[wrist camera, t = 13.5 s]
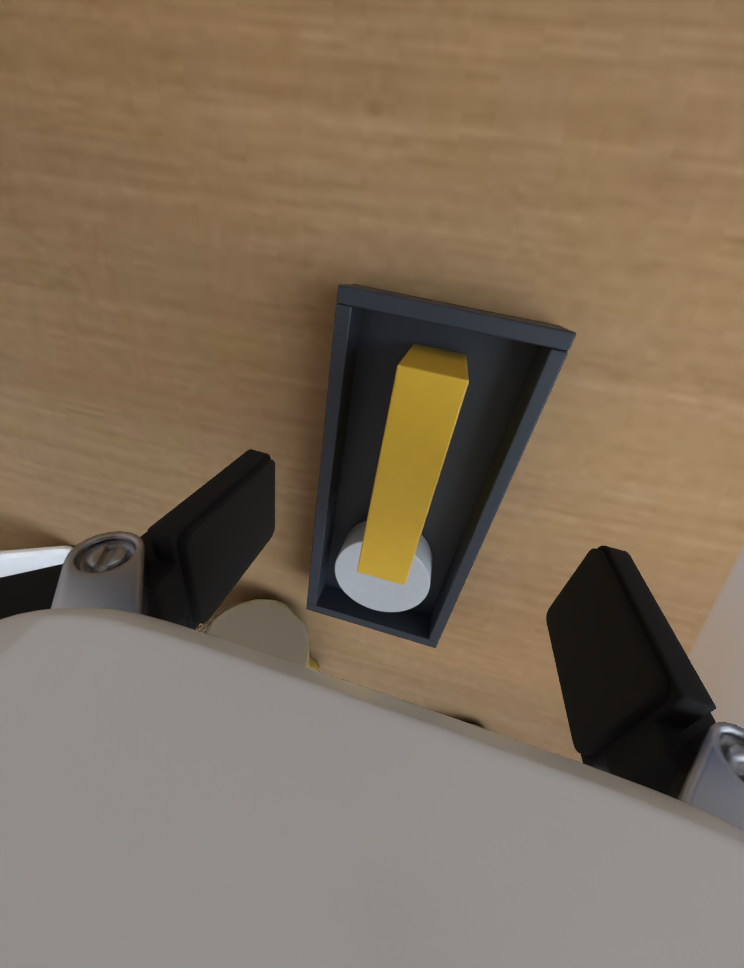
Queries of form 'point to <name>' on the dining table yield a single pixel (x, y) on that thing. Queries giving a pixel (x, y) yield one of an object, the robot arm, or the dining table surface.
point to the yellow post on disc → (405, 484)
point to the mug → (266, 630)
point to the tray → (472, 450)
